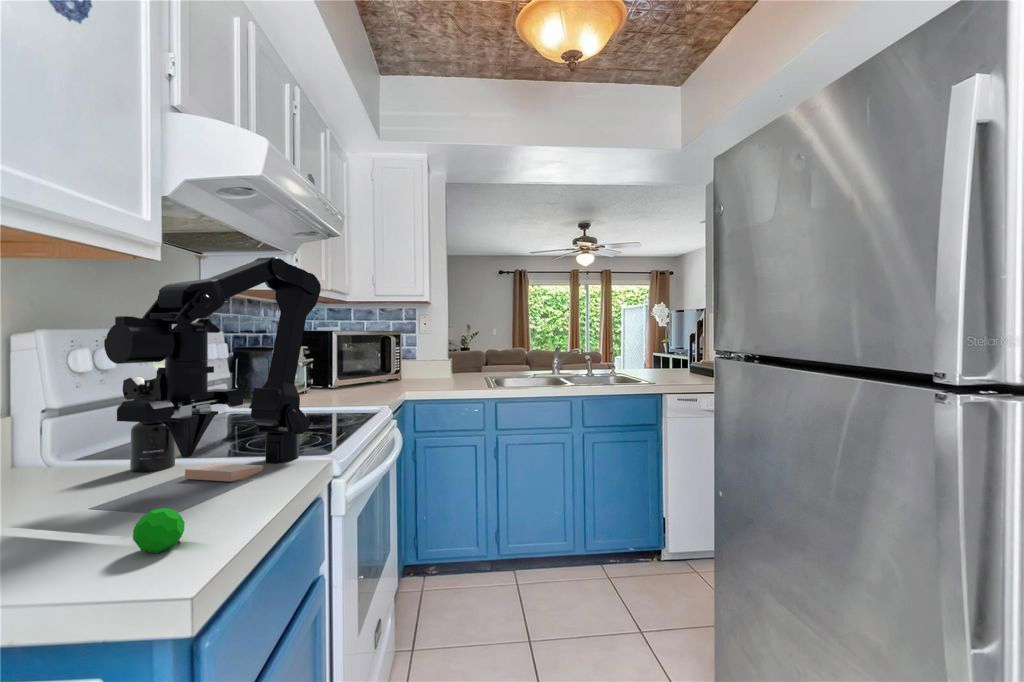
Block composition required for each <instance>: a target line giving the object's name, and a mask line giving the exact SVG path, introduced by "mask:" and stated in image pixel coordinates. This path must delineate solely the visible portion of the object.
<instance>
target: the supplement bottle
mask: <svg viewBox="0 0 1024 682" xmlns="http://www.w3.org/2000/svg"><path fill="white" fill-rule="evenodd" d="M129 455H130V458H129V460H130V462H129V463H130V464H129V467H130V468H129V471H130V472H131V473H135V474H136V473H137V474H141V473H142V474H144V473H146V474H147V473H154V472H160V471H165V470H168V469H172V468H173V467H175V466H176V443H175V440H174V438H173V436H172V434H171V432H170V430H169V429H168V427H167V426H166V425H165V424H163V423H162V422H161V421H156V422H136V423H135V424H133V426H132V427H131V429H130V454H129Z"/></svg>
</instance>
